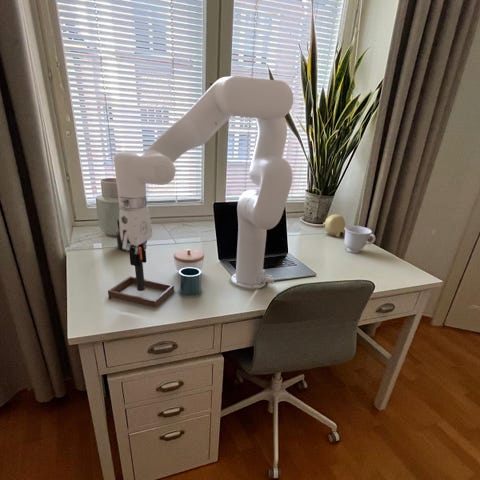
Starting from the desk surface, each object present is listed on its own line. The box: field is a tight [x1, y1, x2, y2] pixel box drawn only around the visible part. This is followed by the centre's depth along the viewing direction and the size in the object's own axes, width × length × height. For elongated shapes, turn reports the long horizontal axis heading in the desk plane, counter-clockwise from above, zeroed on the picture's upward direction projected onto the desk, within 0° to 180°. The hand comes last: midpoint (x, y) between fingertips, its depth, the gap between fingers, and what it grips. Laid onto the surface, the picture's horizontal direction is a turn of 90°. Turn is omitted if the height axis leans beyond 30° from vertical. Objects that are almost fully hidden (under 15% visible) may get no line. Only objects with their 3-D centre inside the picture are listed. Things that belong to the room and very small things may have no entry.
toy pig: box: [322, 213, 346, 238], centre depth 176 cm, size 10×12×11 cm
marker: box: [133, 246, 146, 292], centre depth 107 cm, size 2×2×14 cm
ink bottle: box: [115, 217, 134, 252], centre depth 143 cm, size 10×9×12 cm
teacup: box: [344, 224, 376, 254], centre depth 157 cm, size 12×15×10 cm
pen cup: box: [178, 267, 202, 297], centre depth 114 cm, size 7×7×8 cm
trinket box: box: [173, 248, 205, 273], centre depth 126 cm, size 11×11×9 cm
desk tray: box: [107, 275, 175, 309], centre depth 111 cm, size 17×12×3 cm
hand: (138, 263), depth 106 cm, fingers closed on marker, 2 cm apart
